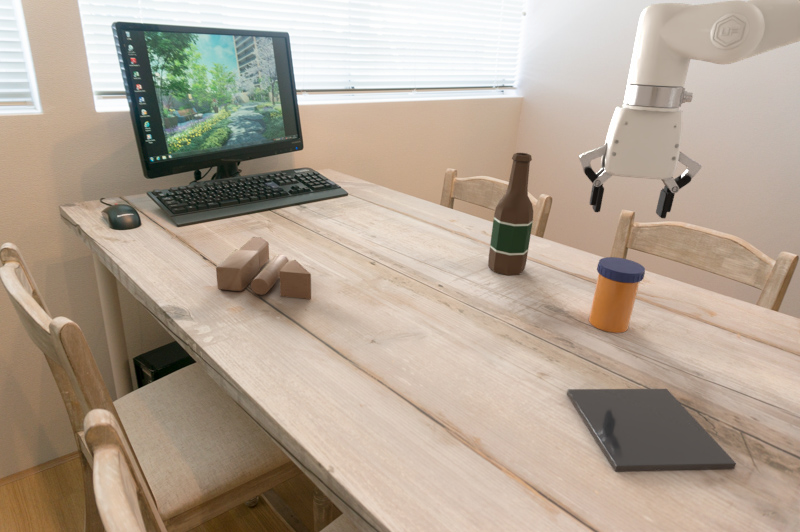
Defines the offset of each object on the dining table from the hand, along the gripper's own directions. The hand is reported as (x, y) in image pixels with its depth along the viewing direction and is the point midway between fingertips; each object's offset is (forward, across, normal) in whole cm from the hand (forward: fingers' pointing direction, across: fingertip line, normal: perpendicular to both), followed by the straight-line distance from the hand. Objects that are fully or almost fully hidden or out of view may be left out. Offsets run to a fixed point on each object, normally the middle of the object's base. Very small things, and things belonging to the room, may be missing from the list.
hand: (627, 213), depth 83 cm
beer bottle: (+19, +17, -20) cm, 32 cm away
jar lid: (+9, -1, 0) cm, 9 cm away
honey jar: (+20, -1, 0) cm, 20 cm away
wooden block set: (+19, +59, -1) cm, 62 cm away
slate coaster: (+20, 0, +28) cm, 34 cm away
